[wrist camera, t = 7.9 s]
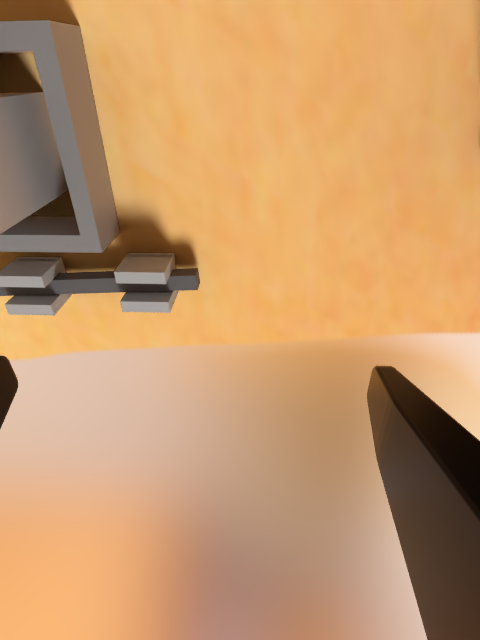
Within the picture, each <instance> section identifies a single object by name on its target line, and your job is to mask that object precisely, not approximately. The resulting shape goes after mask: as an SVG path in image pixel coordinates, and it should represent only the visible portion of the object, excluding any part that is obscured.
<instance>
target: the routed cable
mask: <svg viewBox="0 0 480 640" xmlns="http://www.w3.org/2000/svg"><path fill="white" fill-rule="evenodd" d="M199 284H200V279H199V272H198V268H191V269H176V265H175V257H174V253H127V255H126V256H125V257H124V259H123V260H122V262H121V263H120V264H119V266H118V267H117V268H116V270H115V271H106V272H77V273H66V270H65V267H64V263H63V260H62V257H17V258H15V259H14V260H13V261H12V262H10V263H9V264H8V265H6V266H5V267H4V268H3V269H1V270H0V296H11V295H14V296H13V297H12V298H11V299H10V300H9V301H8V302H7V303H6V304H5V306H6V309H7V311H8V314H15V315H55V314H56V313H57V311H58V310H59V309H60V308H61V307H62V306H63V304H64V303H65V302H66V301H67V300H68V298H69V297H70V296H71V295H72V294H77V293H110V292H126V293H125V294H124V296H123V298H122V299H121V301H120V303H121V307H122V312H163V313H170V311H171V309H172V306H173V304H174V301H175V299H176V296H177V293H178V291H179V290H198V287H199Z"/></svg>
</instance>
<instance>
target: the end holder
mask: <svg viewBox="0 0 480 640" xmlns="http://www.w3.org/2000/svg"><path fill="white" fill-rule="evenodd" d="M0 53H34V57H35V61H36V65H37V69H38V73H39V77H40V80H41V84H42V88H43V92H44V96H45V100H46V104H47V108H48V112H49V115H50V119H51V123H52V127H53V131H54V135H55V139H56V143H57V147H58V150H59V154H60V158H61V162H62V166H63V170H64V174H65V178H66V181H67V185H68V189H69V193H70V197H71V201H72V205H73V209H74V213H75V216H28V217H26V218H25V219H23V220H21V221H20V222H18V223H17V224H15V225H14V226H12V227H11V228H9V229H7V230H6V231H4V232H3V233H1V234H0V252H83V253H102V252H103V251H104V250H105V249H106V248H107V247H108V246H109V244H110V243H111V242H112V241H113V240H114V239H115V238H116V236H117V235H118V234H119V233H120V229H119V224H118V219H117V213H116V208H115V203H114V198H113V193H112V188H111V183H110V178H109V173H108V168H107V163H106V157H105V152H104V147H103V142H102V137H101V132H100V127H99V122H98V117H97V112H96V107H95V101H94V96H93V91H92V86H91V81H90V76H89V71H88V66H87V61H86V56H85V51H84V45H83V40H82V35H81V30H80V26H76V25H71V24H66V23H61V22H56V21H50V20H36V21H0Z"/></svg>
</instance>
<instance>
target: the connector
mask: <svg viewBox="0 0 480 640" xmlns="http://www.w3.org/2000/svg"><path fill="white" fill-rule="evenodd" d="M68 190H69V189H68V185H67V181H66V178H65V174H64V170H63V166H62V162H61V158H60V154H59V150H58V147H57V143H56V139H55V135H54V131H53V127H52V123H51V119H50V115H49V112H48V108H47V104H46V100H45V96H44V92H19V93H0V234H1V233H3V232H4V231H6V230H7V229H9V228H11V227H12V226H14V225H15V224H17V223H18V222H20V221H21V220H23V219H25V218H26V217H28V216H29V215H31V214H32V213H34V212H36V211H37V210H39V209H40V208H42V207H43V206H45V205H46V204H48V203H50V202H51V201H53V200H54V199H56V198H57V197H59V196H61V195H62V194H64V193H65V192H67V191H68Z"/></svg>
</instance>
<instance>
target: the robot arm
mask: <svg viewBox="0 0 480 640" xmlns="http://www.w3.org/2000/svg"><path fill="white" fill-rule="evenodd" d="M17 388H18V380H17V377H16V375H15V373H14V371H13V368H12V366H11V364H10V362H9V360H8V359H7V358H6V357H5V356H0V428H1V426H2V424H3V422H4V419H5V417H6V415H7V412H8V410H9V408H10V405H11V403H12V401H13V399H14V396H15V394H16V392H17ZM367 400H368V407H369V414H370V420H371V426H372V432H373V439H374V446H375V451H376V457H377V462H378V466H379V470H380V473H381V477H382V480H383V484H384V487H385V491H386V494H387V498H388V501H389V505H390V508H391V512H392V516H393V519H394V523H395V526H396V530H397V533H398V537H399V540H400V544H401V547H402V551H403V554H404V558H405V561H406V565H407V569H408V572H409V576H410V579H411V583H412V586H413V590H414V593H415V597H416V600H417V604H418V607H419V611H420V615H421V618H422V622H423V625H424V629H425V632H426V636H427V639H428V640H480V441H479V440H478V439H477V438H476V437H475V436H473V435H472V434H471V433H470V432H469V431H467V430H466V429H465V428H464V427H463V426H462V425H461V424H459V423H458V422H457V421H456V420H455V419H454V418H452V417H451V416H450V415H449V414H448V413H446V412H445V411H444V410H443V409H442V408H441V407H440V406H438V405H437V404H436V403H435V402H434V401H433V400H431V399H430V398H429V397H428V396H427V395H425V394H424V393H423V392H422V391H421V390H420V389H418V388H417V387H416V386H415V385H414V384H413V383H411V382H410V381H409V380H408V379H407V378H406V377H404V376H403V375H402V374H401V373H400V372H399V371H397V370H396V369H395V368H394V367H392V366H375V367H374V368H373V370H372V374H371V378H370V383H369V387H368V392H367Z"/></svg>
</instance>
